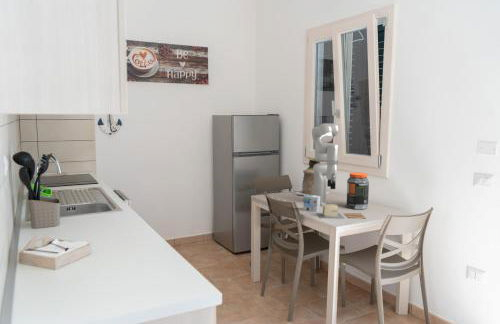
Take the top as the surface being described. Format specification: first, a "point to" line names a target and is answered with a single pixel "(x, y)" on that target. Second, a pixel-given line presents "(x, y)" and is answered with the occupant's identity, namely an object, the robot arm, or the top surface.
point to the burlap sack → (309, 180)
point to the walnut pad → (355, 215)
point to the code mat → (330, 217)
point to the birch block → (330, 210)
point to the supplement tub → (357, 191)
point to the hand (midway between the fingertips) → (331, 187)
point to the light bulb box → (311, 203)
